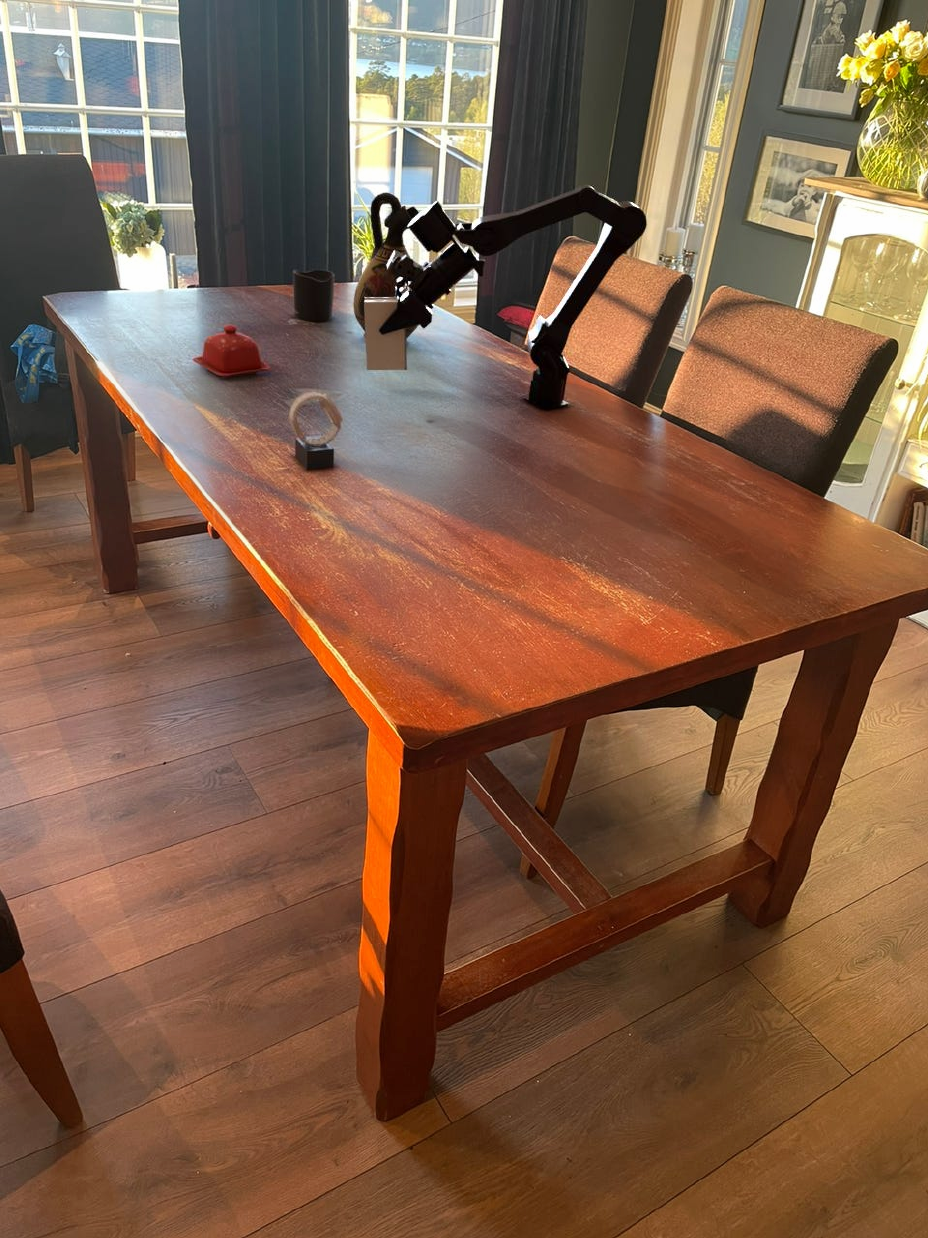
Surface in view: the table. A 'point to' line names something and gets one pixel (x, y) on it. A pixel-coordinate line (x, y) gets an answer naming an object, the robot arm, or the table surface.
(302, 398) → the ring sculpture
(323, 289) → the pen holder
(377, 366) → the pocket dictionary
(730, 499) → the table surface
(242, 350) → the butter dish
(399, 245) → the ceramic jug
